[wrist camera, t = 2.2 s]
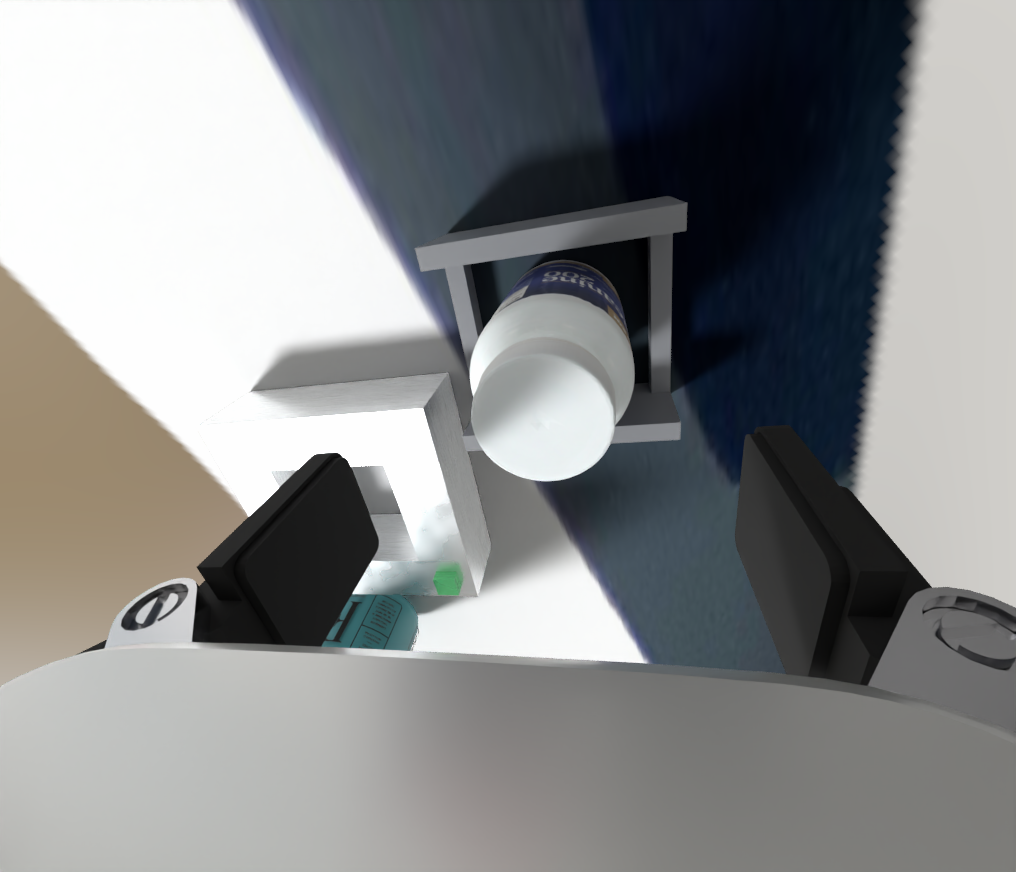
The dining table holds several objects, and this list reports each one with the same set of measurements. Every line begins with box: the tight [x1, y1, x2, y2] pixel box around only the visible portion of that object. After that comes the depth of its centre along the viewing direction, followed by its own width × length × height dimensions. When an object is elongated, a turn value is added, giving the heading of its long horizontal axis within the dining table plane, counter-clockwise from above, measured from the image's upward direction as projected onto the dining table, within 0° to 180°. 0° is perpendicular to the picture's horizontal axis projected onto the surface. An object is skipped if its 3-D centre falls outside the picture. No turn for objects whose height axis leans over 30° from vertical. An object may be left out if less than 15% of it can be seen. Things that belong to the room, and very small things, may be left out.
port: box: [197, 372, 492, 597], centre depth 25 cm, size 12×12×5 cm
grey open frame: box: [415, 196, 687, 451], centre depth 18 cm, size 9×9×4 cm
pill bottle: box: [470, 260, 635, 481], centre depth 16 cm, size 5×5×10 cm
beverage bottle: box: [321, 594, 419, 651], centre depth 24 cm, size 6×7×20 cm
